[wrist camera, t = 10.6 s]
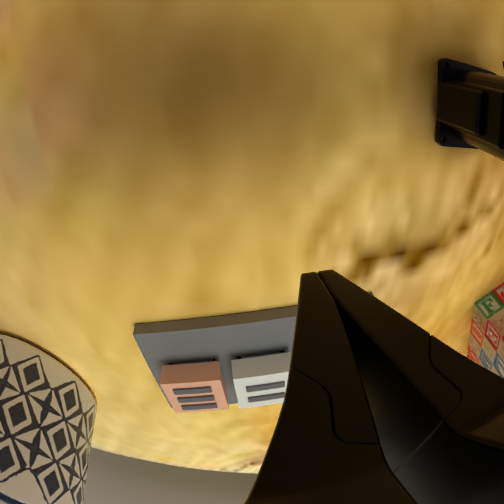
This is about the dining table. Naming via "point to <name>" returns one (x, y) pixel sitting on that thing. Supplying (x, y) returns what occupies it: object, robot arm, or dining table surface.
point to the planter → (42, 427)
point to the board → (216, 340)
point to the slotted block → (194, 386)
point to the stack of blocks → (488, 332)
